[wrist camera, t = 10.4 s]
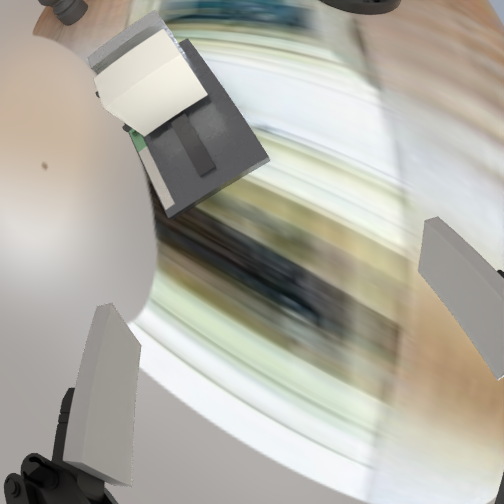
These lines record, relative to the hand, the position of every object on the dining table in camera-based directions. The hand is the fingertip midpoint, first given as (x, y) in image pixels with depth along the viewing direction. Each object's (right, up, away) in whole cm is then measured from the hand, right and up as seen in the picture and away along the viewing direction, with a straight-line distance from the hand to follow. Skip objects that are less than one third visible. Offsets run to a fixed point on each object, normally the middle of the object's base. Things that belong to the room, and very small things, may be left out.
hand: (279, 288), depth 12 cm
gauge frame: (-10, +18, +23) cm, 31 cm away
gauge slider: (-12, +19, +21) cm, 31 cm away
